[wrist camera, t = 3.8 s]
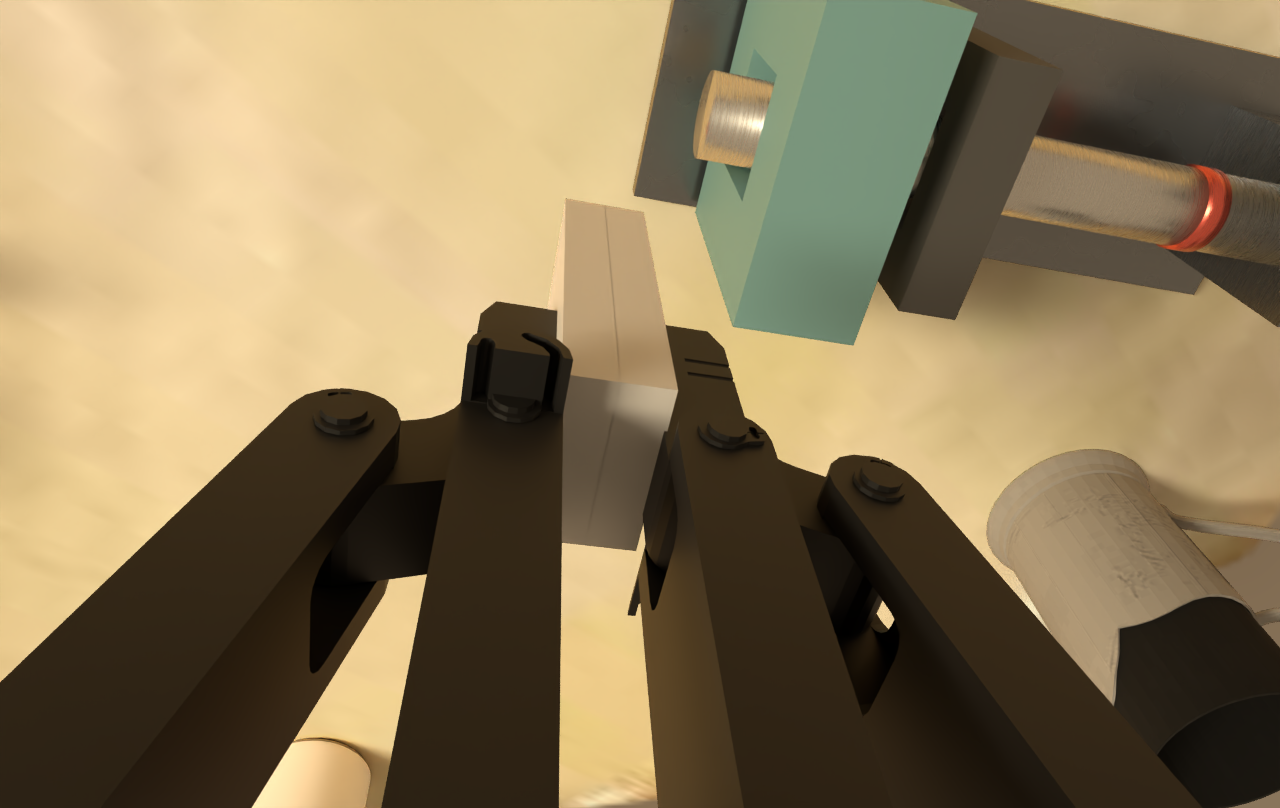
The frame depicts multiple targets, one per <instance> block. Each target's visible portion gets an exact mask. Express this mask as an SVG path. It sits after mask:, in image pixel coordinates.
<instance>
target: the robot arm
mask: <svg viewBox="0 0 1280 808" xmlns="http://www.w3.org/2000/svg"><path fill="white" fill-rule="evenodd" d="M643 523H644V533H645V542H646V545H645V549H644V553H643V556H642V560H641V564H640V568H639V571H638V575H637V579H636V582H635V586H634V590H633V594H632V597H631V601H630V605H629V610H628V615H631V616H635V615H636V611H637V608H638V604H640V603H641V614H642V626H643V637H644V649H645V661H646V672H647V684H648V695H649V707H650V719H651V730H652V742H653V754H654V765H655V777H656V788H657V800H658V808H1202V807H1201V806H1200V804H1199V803H1198V802H1197V801H1196V800H1195V799H1194V797H1193V796H1192V795H1191V794H1190V793H1189V792H1188V791H1187V789H1186V788H1185V787H1184V786H1183V785H1182V784H1181V783H1180V781H1179V780H1178V779H1177V778H1176V777H1175V776H1174V775H1173V773H1172V772H1171V771H1170V770H1169V769H1168V768H1167V767H1166V765H1165V764H1164V763H1163V762H1162V761H1161V760H1160V758H1159V757H1158V756H1157V755H1156V754H1155V753H1154V752H1153V750H1152V749H1151V748H1150V747H1149V746H1148V745H1147V744H1146V742H1145V741H1144V740H1143V739H1142V738H1141V737H1140V736H1139V734H1138V733H1137V732H1136V731H1135V730H1134V729H1133V728H1132V726H1131V725H1130V724H1129V723H1128V722H1127V721H1126V720H1125V718H1124V717H1123V716H1122V715H1121V714H1120V713H1119V711H1118V710H1117V709H1116V708H1115V707H1114V706H1113V705H1112V703H1111V702H1110V701H1109V700H1108V699H1107V698H1106V697H1105V695H1104V694H1103V693H1102V692H1101V691H1100V690H1099V689H1098V687H1097V686H1096V685H1095V684H1094V683H1093V682H1092V681H1091V679H1090V678H1089V677H1088V676H1087V675H1086V674H1085V672H1084V671H1083V670H1082V669H1081V668H1080V667H1079V666H1078V664H1077V663H1076V662H1075V661H1074V660H1073V659H1072V658H1071V656H1070V655H1069V654H1068V653H1067V652H1066V651H1065V650H1064V648H1063V647H1062V646H1061V645H1060V644H1059V643H1058V642H1057V640H1056V639H1055V638H1054V637H1053V636H1052V635H1051V633H1050V632H1049V631H1048V630H1047V629H1046V628H1045V627H1044V625H1043V624H1042V623H1041V622H1040V621H1039V620H1038V619H1037V617H1036V616H1035V615H1034V614H1033V613H1032V612H1031V611H1030V609H1029V608H1028V607H1027V606H1026V605H1025V604H1024V603H1023V601H1022V600H1021V599H1020V598H1019V597H1018V596H1017V594H1016V593H1015V592H1014V591H1013V590H1012V589H1011V588H1010V586H1009V585H1008V584H1007V583H1006V582H1005V581H1004V580H1003V578H1002V577H1001V576H1000V575H999V574H998V573H997V572H996V570H995V569H994V568H993V567H992V566H991V565H990V564H989V562H988V561H987V560H986V559H985V558H984V557H983V555H982V554H981V553H980V552H979V551H978V550H977V549H976V547H975V546H974V545H973V544H972V543H971V542H970V541H969V539H968V538H967V537H966V536H965V535H964V534H963V533H962V531H961V530H960V529H959V528H958V527H957V526H956V525H955V523H954V522H953V521H952V520H951V519H950V518H949V517H948V515H947V514H946V513H945V512H944V511H943V510H942V508H941V507H940V506H939V505H938V504H937V503H936V502H935V500H934V499H933V498H932V497H931V496H930V495H929V494H928V492H927V491H926V490H925V489H924V488H923V487H922V486H921V484H920V483H919V482H917V481H916V480H915V479H914V478H913V477H912V476H911V475H909V474H908V473H907V472H906V471H904V470H902V469H900V468H898V467H897V466H895V465H893V464H892V463H891V462H888V461H886V460H883V459H882V460H880V458H876V457H872V456H860V455H850V456H844V457H839V458H838V459H837V460H835V461H834V462H833V463H831V465H830V468H829V471H828V473H827V476H826V477H824V476H821V475H818V474H815V473H812V472H809V471H806V470H803V469H800V468H797V467H795V466H792V465H790V464H787V463H785V462H782V461H781V460H779V459H778V458H777V455H776V452H775V449H774V446H773V443H772V441H771V439H770V438H769V436H768V435H767V433H766V431H765V430H763V429H762V428H761V427H760V426H758V425H757V424H756V423H754V422H753V421H751V420H749V419H747V418H745V417H744V413H743V410H742V407H741V403H740V400H739V397H738V393H737V390H736V387H735V383H734V382H733V377H732V373H731V370H730V368H729V363H728V360H727V357H726V353H725V350H724V348H723V347H722V346H721V345H720V344H719V343H718V342H717V341H716V340H715V339H714V338H713V337H712V336H711V335H710V334H709V333H708V332H706V331H700V330H693V329H687V328H681V327H674V326H668V325H665V320H664V315H663V310H662V305H661V300H660V294H659V289H658V284H657V279H656V274H655V269H654V263H653V258H652V253H651V248H650V243H649V238H648V232H647V227H646V222H645V217H644V212H640V211H634V210H629V209H623V208H617V207H611V206H606V205H600V204H594V203H588V202H583V201H577V200H571V199H565V205H564V211H563V217H562V223H561V229H560V235H559V241H558V247H557V253H556V260H555V266H554V272H553V278H552V284H551V290H550V296H549V302H548V308H547V309H543V308H536V307H530V306H523V305H517V304H510V303H504V302H497V301H496V302H495V303H494V304H493V305H491V306H490V307H489V308H487V309H486V310H485V311H484V312H482V313H481V315H480V320H479V326H478V331H477V334H475V335H473V337H472V338H471V340H470V341H469V343H468V344H467V353H466V362H465V370H464V379H463V387H462V396H461V403H460V404H458V405H457V406H456V407H455V408H454V409H452V410H450V411H449V412H447V413H445V414H442V415H439V416H435V417H432V418H427V419H419V420H408V421H401V420H400V417H399V414H398V411H397V409H396V408H395V407H394V406H393V405H391V404H390V403H389V402H388V401H387V400H386V399H384V398H381V397H379V396H376V395H374V394H372V393H369V392H365V391H359V390H353V389H343V388H340V389H326V390H321V391H318V392H314V393H310V394H306V395H304V396H303V397H301V398H299V399H298V400H296V401H295V402H293V403H291V404H290V405H289V406H288V407H287V408H286V409H285V410H284V411H283V412H282V413H281V414H280V415H279V416H278V417H277V418H276V419H275V420H274V421H273V422H271V423H270V424H269V425H268V426H267V427H266V428H265V429H264V430H263V431H262V432H261V433H260V434H259V435H258V436H257V437H256V438H255V439H254V440H253V441H252V442H251V443H250V444H249V445H247V446H246V447H245V448H244V449H243V450H242V451H241V452H240V453H239V454H238V455H237V456H236V457H235V458H234V459H233V460H232V461H231V462H230V463H229V464H228V465H227V466H226V467H225V468H223V469H222V470H221V471H220V472H219V473H218V474H217V475H216V476H215V477H214V478H213V479H212V480H211V481H210V482H209V483H208V484H207V485H206V486H205V487H204V488H203V489H202V490H201V491H199V492H198V493H197V494H196V495H195V496H194V497H193V498H192V499H191V500H190V501H189V502H188V503H187V504H186V505H185V506H184V507H183V508H182V509H181V510H180V511H179V512H178V513H177V514H175V515H174V516H173V517H172V518H171V519H170V520H169V521H168V522H167V523H166V524H165V525H164V526H163V527H162V528H161V529H160V530H159V531H158V532H157V533H156V534H155V535H154V536H153V537H151V538H150V539H149V540H148V541H147V542H146V543H145V544H144V545H143V546H142V547H141V548H140V549H139V550H138V551H137V552H136V553H135V554H134V555H133V556H132V557H131V558H130V559H129V560H127V561H126V562H125V563H124V564H123V565H122V566H121V567H120V568H119V569H118V570H117V571H116V572H115V573H114V574H113V575H112V576H111V577H110V578H109V579H108V580H107V581H106V582H105V583H103V584H102V585H101V586H100V587H99V588H98V589H97V590H96V591H95V592H94V593H93V594H92V595H91V596H90V597H89V598H88V599H87V600H86V601H85V602H84V603H83V604H82V605H81V606H79V607H78V608H77V609H76V610H75V611H74V612H73V613H72V614H71V615H70V616H69V617H68V618H67V619H66V620H65V621H64V622H63V623H62V624H61V625H60V626H59V627H58V628H57V629H55V630H54V631H53V632H52V633H51V634H50V635H49V636H48V637H47V638H46V639H45V640H44V641H43V642H42V643H41V644H40V645H39V646H38V647H37V648H36V649H35V650H34V651H33V652H31V653H30V654H29V655H28V656H27V657H26V658H25V659H24V660H23V661H22V662H21V663H20V664H19V665H18V666H17V667H16V668H15V669H14V670H13V671H12V672H11V673H10V674H9V675H7V676H6V677H5V678H4V679H3V680H2V681H1V682H0V808H252V807H253V805H254V803H255V802H256V800H257V799H258V797H259V795H260V794H261V792H262V790H263V789H264V787H265V786H266V784H267V782H268V781H269V779H270V778H271V776H272V774H273V773H274V771H275V770H276V768H277V766H278V765H279V763H280V761H281V760H282V758H283V757H284V755H285V753H286V752H287V750H288V749H289V747H290V745H291V744H292V742H293V741H294V739H295V737H296V736H297V734H298V732H299V731H300V729H301V728H302V726H303V724H304V723H305V721H306V720H307V718H308V716H309V715H310V713H311V712H312V710H313V708H314V707H315V705H316V704H317V702H318V700H319V699H320V697H321V695H322V694H323V692H324V691H325V689H326V687H327V686H328V684H329V683H330V681H331V679H332V678H333V676H334V675H335V673H336V671H337V670H338V668H339V666H340V665H341V663H342V662H343V660H344V658H345V657H346V655H347V654H348V652H349V650H350V649H351V647H352V646H353V644H354V642H355V641H356V639H357V638H358V636H359V634H360V633H361V631H362V629H363V628H364V626H365V625H366V623H367V621H368V620H369V618H370V617H371V615H372V613H373V612H374V610H375V609H376V607H377V605H378V604H379V602H380V600H381V599H382V597H383V596H384V594H385V591H386V588H387V584H388V581H389V579H395V578H402V577H409V576H417V575H424V574H427V577H426V582H425V587H424V592H423V597H422V603H421V608H420V613H419V618H418V623H417V628H416V633H415V638H414V644H413V649H412V654H411V659H410V664H409V669H408V674H407V679H406V685H405V690H404V695H403V700H402V705H401V710H400V715H399V720H398V726H397V731H396V736H395V741H394V746H393V751H392V756H391V761H390V766H389V772H388V777H387V782H386V787H385V792H384V797H383V802H382V807H381V808H559V734H560V645H561V557H562V543H570V544H579V545H588V546H597V547H605V548H614V549H623V550H632V551H636V549H637V545H638V541H639V538H640V534H641V530H642V526H643ZM882 601H883V602H884V603H885V604H886V606H887V607H888V609H889V610H890V612H891V613H892V615H893V617H894V619H895V620H894V622H893V624H892V626H891V627H890V628H889V629H888V628H887V627H886V626H885V625H884V624H883V623H882V621H881V620H880V618H879V617H878V615H877V614H876V613H877V611H878V609H879V607H880V605H881V603H882Z"/></svg>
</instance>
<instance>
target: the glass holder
mask: <svg viewBox="0 0 1280 808" xmlns="http://www.w3.org/2000/svg"><path fill="white" fill-rule="evenodd" d="M1182 529H1186V530H1192V531H1197V532H1203V533H1211V534H1219V535H1227V536H1236V537H1246V538H1253V539H1260V540H1266V541H1272V542H1278V543H1280V529H1273V528H1266V527H1260V526H1253V525H1246V524H1237V523H1228V522H1219V521H1211V520H1202V519H1196V518H1190V517H1184V516H1179V515H1176V514H1174V513H1172V512H1171V511H1169V510H1168V509H1167V507H1166V506H1164V505H1161V504H1159V503H1158V502H1157V501H1156V499H1155V498H1154V497H1153V496H1152V495H1151V494H1150V488H1149V485H1148V482H1147V478H1146V476H1145V475H1144V473H1143V472H1142V470H1141V469H1140V467H1139V466H1138V465H1137V464H1135V463H1134V462H1133V461H1132V460H1131V459H1129V458H1127V457H1125V456H1123V455H1122V454H1118V453H1115V452H1112V451H1106V450H1098V449H1090V450H1078V451H1072V452H1067V453H1064V454H1060V455H1057V456H1054V457H1051V458H1049V459H1047V460H1045V461H1042V462H1040V463H1038V464H1036V465H1035V466H1033V467H1031V468H1030V469H1028V470H1026V471H1025V472H1024V473H1022V474H1021V475H1020V476H1018V477H1017V478H1016V479H1015V480H1013V481H1012V482H1011V484H1010V485H1009V486H1008V487H1007V488H1006V489H1005V490H1004V491H1003V492H1002V493H1001V495H1000V496H999V498H998V499H997V500H996V502H995V504H994V506H993V508H992V510H991V512H990V515H989V519H988V522H987V539H988V544H989V546H990V548H991V550H992V552H993V554H994V555H995V556H996V557H997V558H998V560H999V561H1000V562H1001V563H1003V564H1004V565H1005V566H1007V567H1008V568H1010V569H1011V570H1013V571H1014V572H1015V574H1016V576H1017V577H1018V579H1019V581H1020V582H1021V584H1022V586H1023V587H1024V589H1025V591H1026V592H1027V594H1028V596H1029V597H1030V599H1031V601H1032V602H1033V604H1034V606H1035V607H1036V609H1037V611H1038V612H1039V614H1040V616H1041V617H1042V619H1043V621H1044V622H1045V624H1046V626H1047V627H1048V629H1049V631H1050V632H1051V634H1052V636H1053V637H1054V638H1055V639H1056V640H1057V642H1058V643H1059V644H1060V645H1061V646H1062V647H1063V648H1064V650H1065V651H1066V652H1067V653H1068V654H1069V655H1070V656H1071V658H1072V659H1073V660H1074V661H1075V662H1076V663H1077V664H1078V666H1079V667H1080V668H1081V669H1082V670H1083V671H1084V672H1085V674H1086V675H1087V676H1088V677H1089V678H1090V679H1091V681H1092V682H1093V683H1094V684H1095V685H1096V686H1097V687H1098V689H1099V690H1100V691H1101V692H1102V693H1103V694H1104V695H1105V697H1106V698H1107V699H1108V700H1109V701H1110V702H1111V703H1112V705H1113V706H1114V707H1115V708H1116V709H1117V710H1118V711H1119V713H1120V714H1121V715H1122V716H1123V717H1124V718H1125V720H1126V721H1127V722H1128V723H1129V724H1130V725H1131V726H1132V728H1133V729H1134V730H1135V731H1136V732H1137V733H1138V734H1139V736H1140V737H1141V738H1142V739H1143V740H1144V741H1145V742H1146V744H1147V745H1148V746H1149V747H1150V748H1151V749H1152V750H1153V752H1154V753H1155V754H1156V755H1157V756H1158V757H1159V758H1160V760H1161V761H1162V762H1163V763H1164V764H1165V765H1166V767H1167V768H1168V769H1169V770H1170V771H1171V772H1172V773H1173V775H1174V776H1175V777H1176V778H1177V779H1178V780H1179V781H1180V783H1181V784H1182V785H1183V786H1184V787H1185V788H1186V789H1187V791H1188V792H1189V793H1190V794H1191V795H1192V796H1193V797H1194V799H1195V800H1196V801H1197V802H1198V803H1199V804H1200V806H1201V807H1202V808H1229V807H1234V806H1238V805H1242V804H1246V803H1249V802H1252V801H1255V800H1258V799H1261V798H1264V797H1266V796H1268V795H1271V794H1273V793H1275V792H1277V791H1279V790H1280V648H1279V646H1278V645H1277V644H1276V643H1275V642H1274V641H1273V639H1272V638H1271V637H1270V636H1269V635H1268V634H1267V632H1266V631H1265V630H1264V629H1263V628H1262V627H1261V626H1263V625H1265V624H1269V623H1273V622H1279V621H1280V608H1272V609H1267V610H1263V611H1260V612H1257V613H1254V612H1253V610H1252V609H1251V607H1250V606H1249V605H1248V604H1247V603H1246V602H1245V601H1244V600H1243V598H1242V597H1241V596H1240V595H1239V594H1238V593H1237V592H1236V590H1235V589H1234V588H1233V587H1232V586H1231V585H1230V584H1229V582H1228V581H1227V580H1226V579H1225V578H1224V577H1223V576H1222V574H1221V573H1220V572H1219V571H1218V570H1217V569H1216V568H1215V567H1214V565H1213V564H1212V563H1211V562H1210V561H1209V560H1208V559H1207V557H1206V556H1205V555H1204V554H1203V553H1202V552H1201V551H1200V549H1199V548H1198V547H1197V546H1196V545H1195V544H1194V543H1193V542H1192V540H1191V539H1190V538H1189V537H1188V536H1187V535H1186V534H1185V532H1184V531H1183V530H1182Z"/></svg>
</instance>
